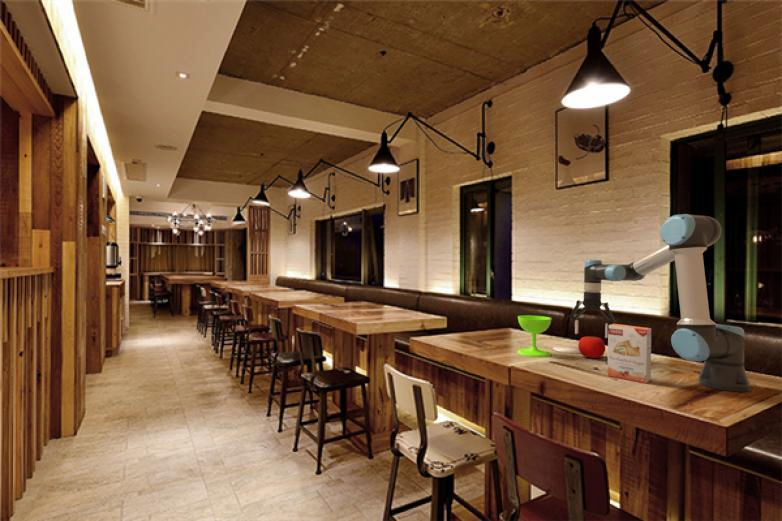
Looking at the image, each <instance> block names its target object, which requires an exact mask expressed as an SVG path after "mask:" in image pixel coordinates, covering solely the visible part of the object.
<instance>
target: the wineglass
mask: <svg viewBox="0 0 782 521" xmlns="http://www.w3.org/2000/svg"><path fill="white" fill-rule="evenodd" d="M517 320H518V324H519V326H520V327H521V328H522V330H524V331H525V332H527V333H529V334H531V335H532V336H531V346H530V347H529V348H528V347H523V348H519V349H518V350H517V354H519V355H521V356H525V357H531V358H548V357H551V356H552V353H551V352H549V351H548V350H545V349H541V348H538V347H537V335H539V334H542V333H543V332H546V331H547V330H548V328H550V326H551V323H552V317H549V316H542V315H517Z"/></svg>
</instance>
